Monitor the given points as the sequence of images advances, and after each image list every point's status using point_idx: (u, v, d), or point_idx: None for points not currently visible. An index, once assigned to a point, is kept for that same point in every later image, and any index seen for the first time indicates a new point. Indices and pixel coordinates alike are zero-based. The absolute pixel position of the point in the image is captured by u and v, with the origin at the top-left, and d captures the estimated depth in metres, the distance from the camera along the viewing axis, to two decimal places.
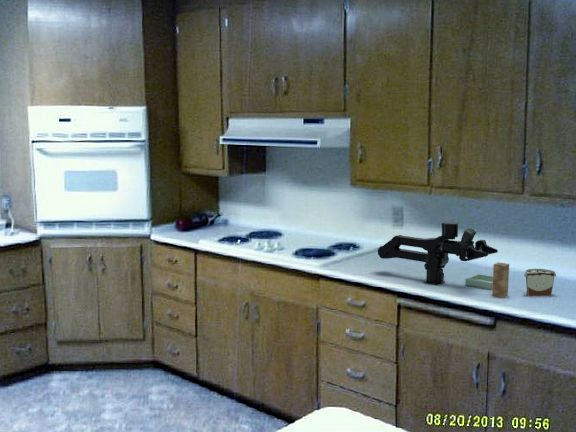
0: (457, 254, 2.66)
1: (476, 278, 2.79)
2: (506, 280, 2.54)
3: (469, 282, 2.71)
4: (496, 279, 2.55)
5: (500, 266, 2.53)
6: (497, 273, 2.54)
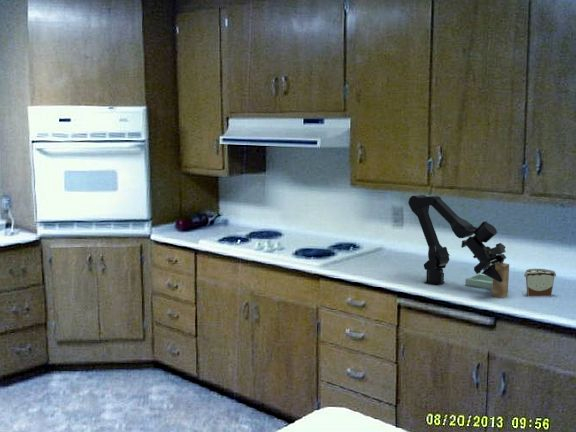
0: (474, 256, 2.59)
1: (476, 278, 2.79)
2: (506, 280, 2.54)
3: (469, 282, 2.71)
4: None
5: (500, 266, 2.53)
6: None
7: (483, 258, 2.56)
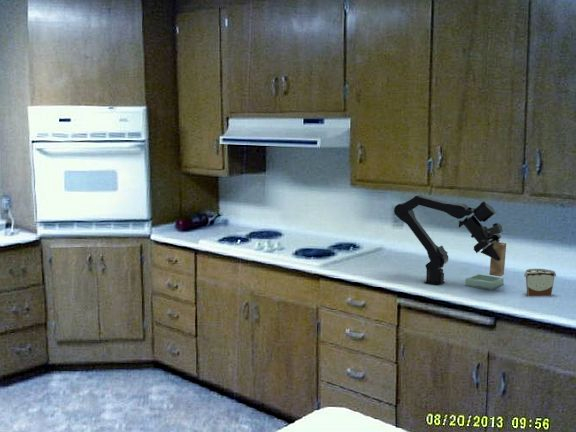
0: (472, 236, 2.64)
1: (476, 278, 2.79)
2: (503, 259, 2.61)
3: (469, 282, 2.71)
4: None
5: (498, 245, 2.59)
6: None
7: (481, 237, 2.62)
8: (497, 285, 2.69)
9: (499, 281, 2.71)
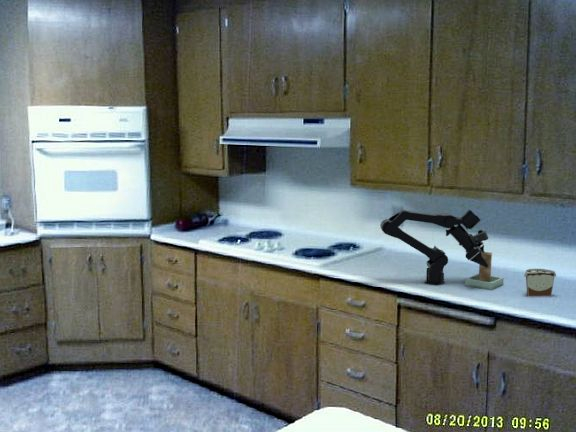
0: (460, 244, 2.72)
1: (476, 278, 2.79)
2: (490, 268, 2.71)
3: (469, 282, 2.71)
4: (482, 268, 2.70)
5: (486, 255, 2.69)
6: None
7: (469, 245, 2.71)
8: (497, 285, 2.69)
9: (499, 281, 2.71)
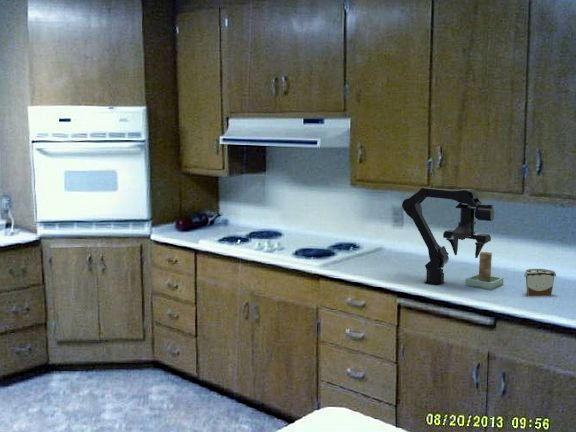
0: None
1: (476, 278, 2.79)
2: (490, 268, 2.71)
3: (469, 282, 2.71)
4: (482, 268, 2.70)
5: (486, 255, 2.69)
6: (483, 262, 2.70)
7: None
8: (497, 285, 2.69)
9: (499, 281, 2.71)
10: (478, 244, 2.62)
